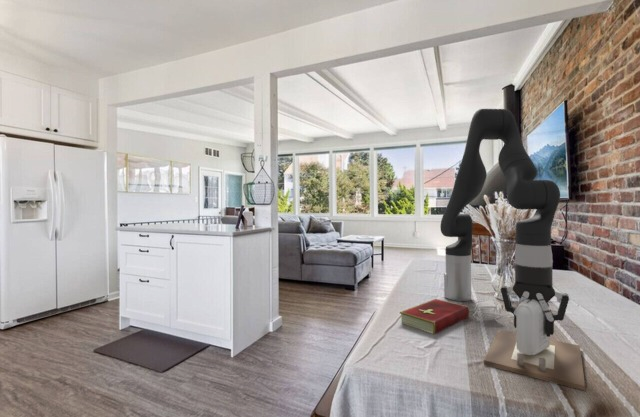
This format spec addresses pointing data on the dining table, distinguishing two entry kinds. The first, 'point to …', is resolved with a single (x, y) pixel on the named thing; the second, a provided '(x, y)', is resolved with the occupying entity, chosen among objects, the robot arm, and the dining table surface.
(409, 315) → the hardcover book
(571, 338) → the dining table surface
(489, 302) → the white arched piece
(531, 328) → the photo printer
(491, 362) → the walnut dock
